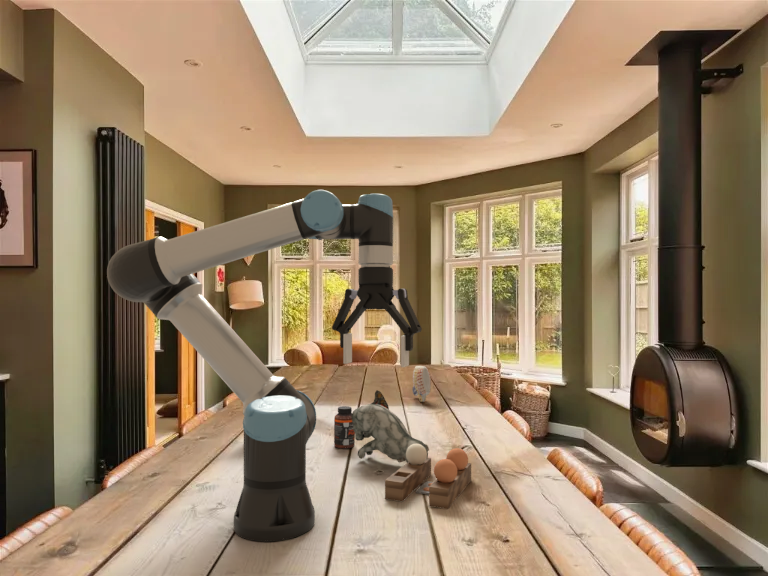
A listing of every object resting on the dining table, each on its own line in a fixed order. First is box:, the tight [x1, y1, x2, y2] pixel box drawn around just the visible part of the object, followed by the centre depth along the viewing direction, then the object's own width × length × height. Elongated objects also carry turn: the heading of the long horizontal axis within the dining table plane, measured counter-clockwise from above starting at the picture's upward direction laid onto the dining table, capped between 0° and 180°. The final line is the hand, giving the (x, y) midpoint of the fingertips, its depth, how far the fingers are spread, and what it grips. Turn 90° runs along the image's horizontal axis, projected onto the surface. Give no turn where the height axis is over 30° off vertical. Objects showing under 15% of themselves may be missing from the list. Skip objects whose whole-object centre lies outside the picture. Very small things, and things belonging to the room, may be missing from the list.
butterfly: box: [370, 390, 390, 410], centre depth 187 cm, size 12×10×10 cm
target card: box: [415, 480, 434, 496], centre depth 123 cm, size 7×4×1 cm, turn 156°
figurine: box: [351, 403, 430, 463], centre depth 140 cm, size 10×19×20 cm
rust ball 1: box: [433, 458, 457, 483], centre depth 117 cm, size 5×5×5 cm
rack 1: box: [384, 457, 432, 503], centre depth 125 cm, size 19×4×4 cm, turn 156°
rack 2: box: [428, 462, 472, 510], centre depth 121 cm, size 19×4×4 cm, turn 156°
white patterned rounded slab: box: [412, 365, 432, 403], centre depth 224 cm, size 21×6×15 cm, turn 12°
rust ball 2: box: [445, 447, 469, 471], centre depth 125 cm, size 5×5×5 cm
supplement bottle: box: [333, 405, 356, 450], centre depth 157 cm, size 6×6×11 cm
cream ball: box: [406, 444, 427, 465], centre depth 129 cm, size 5×5×5 cm
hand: (375, 364), depth 117 cm, fingers open, 13 cm apart
